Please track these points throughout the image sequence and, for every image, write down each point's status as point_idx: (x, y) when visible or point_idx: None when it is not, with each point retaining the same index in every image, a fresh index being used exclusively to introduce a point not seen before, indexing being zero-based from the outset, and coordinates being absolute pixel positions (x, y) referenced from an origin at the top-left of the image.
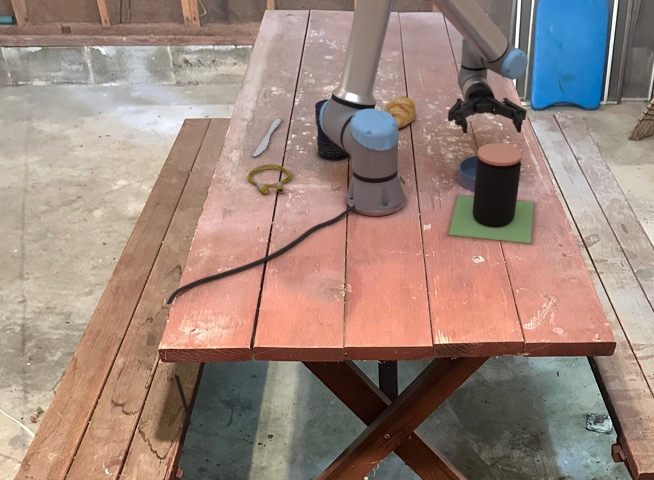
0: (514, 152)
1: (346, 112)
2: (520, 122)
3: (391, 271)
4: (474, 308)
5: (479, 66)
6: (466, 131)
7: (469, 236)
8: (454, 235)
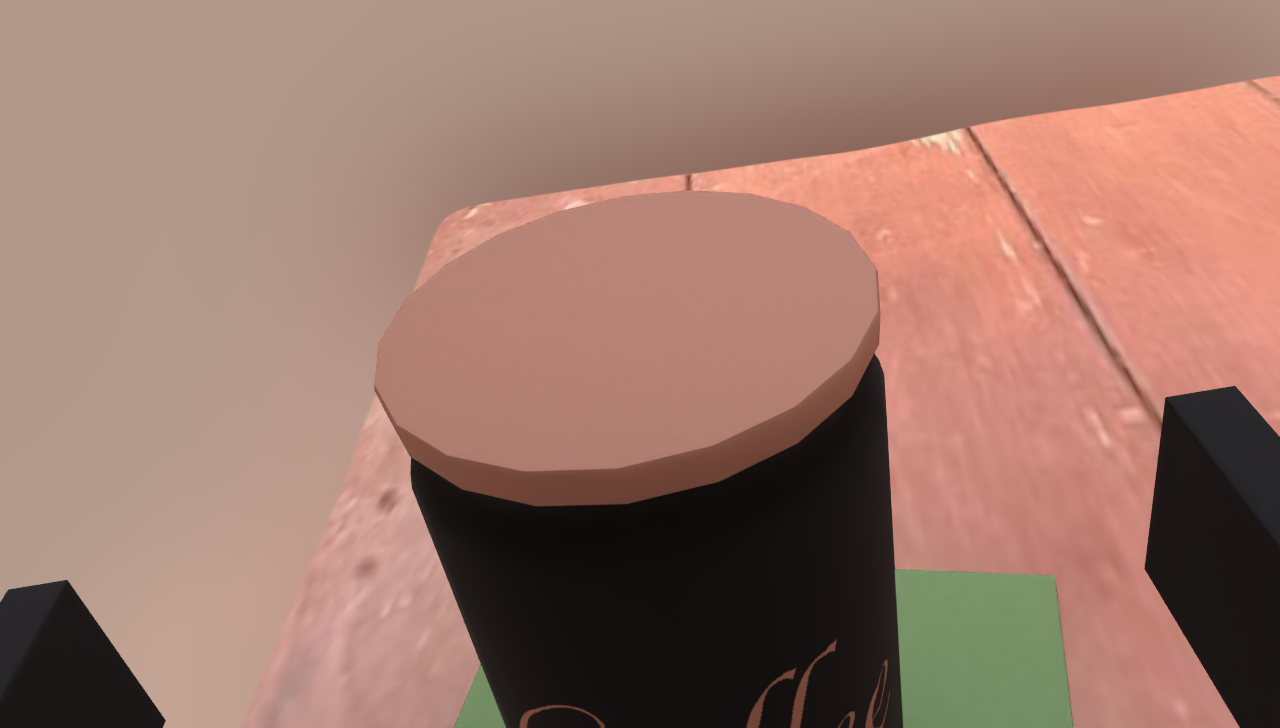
0: (461, 324)
1: None
2: (42, 586)
3: (1273, 303)
4: (844, 222)
5: None
6: (1157, 541)
7: (904, 570)
8: (1010, 575)
